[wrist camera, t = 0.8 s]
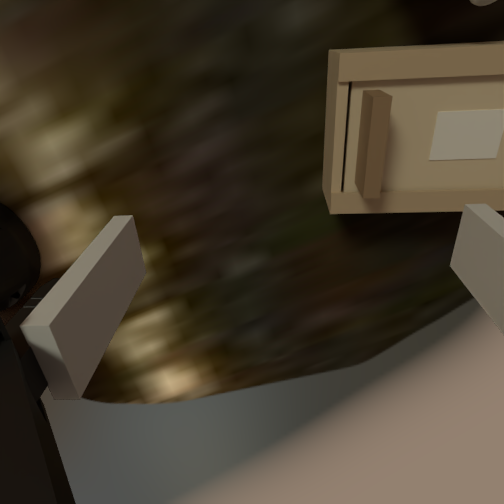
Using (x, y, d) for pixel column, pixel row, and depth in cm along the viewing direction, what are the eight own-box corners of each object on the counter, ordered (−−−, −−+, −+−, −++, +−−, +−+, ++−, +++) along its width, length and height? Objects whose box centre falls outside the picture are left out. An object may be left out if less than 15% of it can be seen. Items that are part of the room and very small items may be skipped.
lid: (342, 196, 32) (350, 216, 29) (352, 69, 27) (363, 73, 24) (512, 192, 31) (541, 212, 28) (554, 59, 26) (596, 62, 23)
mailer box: (322, 187, 37) (330, 214, 32) (328, 50, 31) (339, 53, 26) (491, 183, 36) (529, 209, 31) (531, 39, 30) (588, 40, 25)
